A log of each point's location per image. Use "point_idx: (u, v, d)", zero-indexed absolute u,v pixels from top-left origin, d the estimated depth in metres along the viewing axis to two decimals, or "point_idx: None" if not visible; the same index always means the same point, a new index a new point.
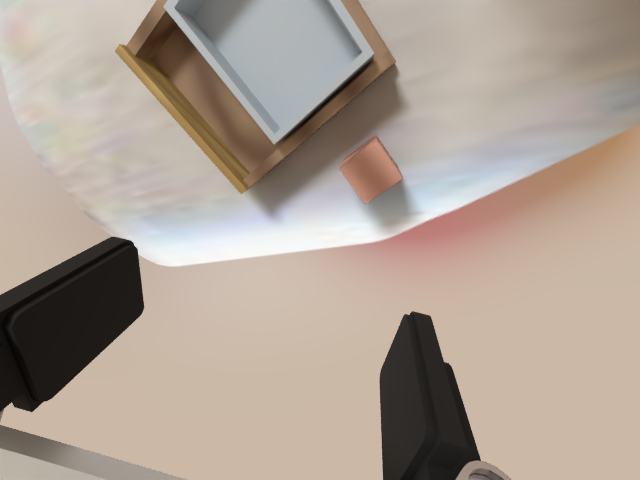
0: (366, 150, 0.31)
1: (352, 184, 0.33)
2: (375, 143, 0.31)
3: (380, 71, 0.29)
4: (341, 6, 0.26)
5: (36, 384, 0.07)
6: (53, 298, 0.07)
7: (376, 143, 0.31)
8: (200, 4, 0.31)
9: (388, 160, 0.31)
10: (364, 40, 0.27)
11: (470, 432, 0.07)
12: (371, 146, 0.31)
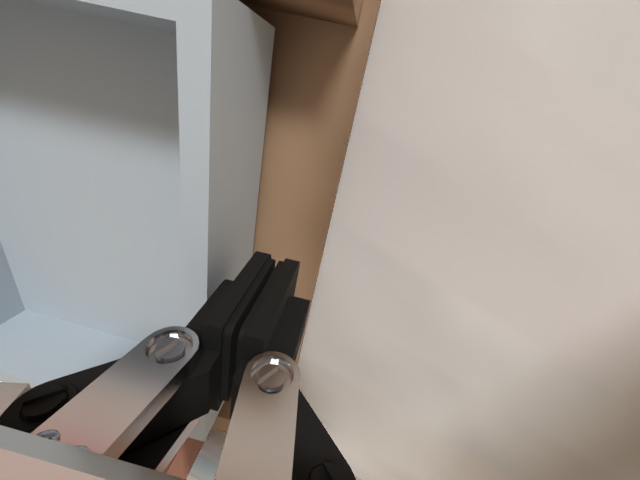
0: None
1: None
2: None
3: None
4: None
5: (227, 386, 0.08)
6: (245, 310, 0.08)
7: None
8: None
9: None
10: (202, 422, 0.13)
11: (295, 342, 0.08)
12: None
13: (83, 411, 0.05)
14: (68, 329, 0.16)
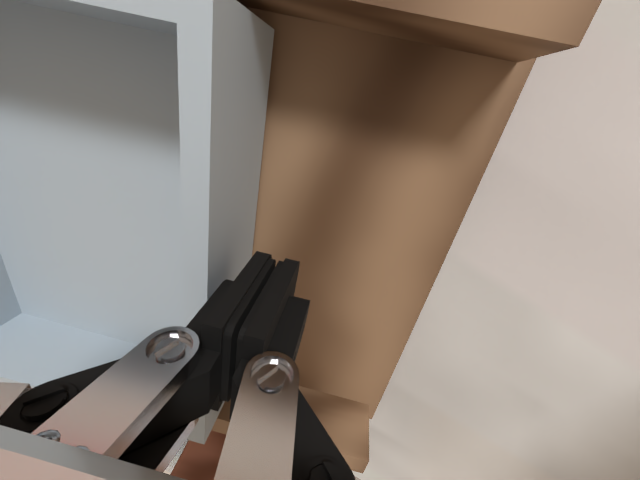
0: None
1: None
2: None
3: None
4: None
5: (227, 387, 0.08)
6: (245, 310, 0.08)
7: None
8: None
9: None
10: (201, 425, 0.13)
11: (295, 342, 0.08)
12: None
13: (84, 411, 0.05)
14: (66, 332, 0.16)
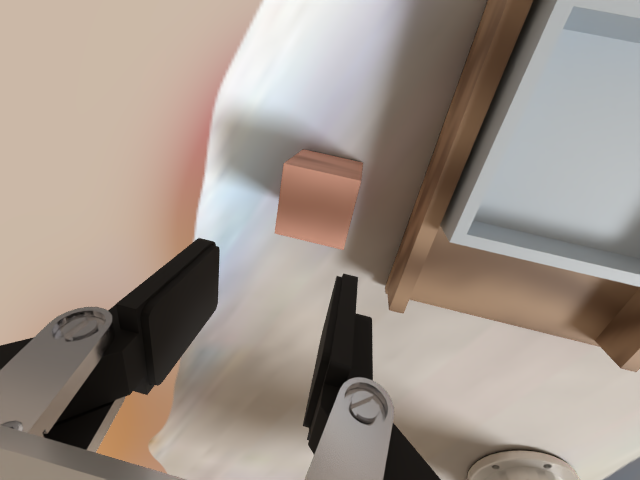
0: (345, 231, 0.20)
1: (325, 175, 0.18)
2: (342, 246, 0.20)
3: (396, 296, 0.23)
4: (526, 257, 0.19)
5: (154, 369, 0.08)
6: (171, 293, 0.08)
7: (341, 246, 0.20)
8: None
9: (310, 239, 0.20)
10: (472, 245, 0.19)
11: (370, 364, 0.08)
12: (344, 239, 0.20)
13: None
14: None
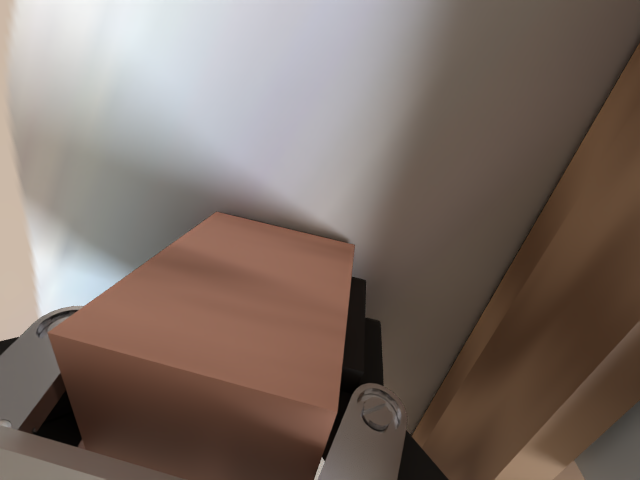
0: None
1: (202, 382, 0.05)
2: None
3: None
4: None
5: None
6: None
7: None
8: None
9: None
10: None
11: (381, 369, 0.08)
12: None
13: None
14: None
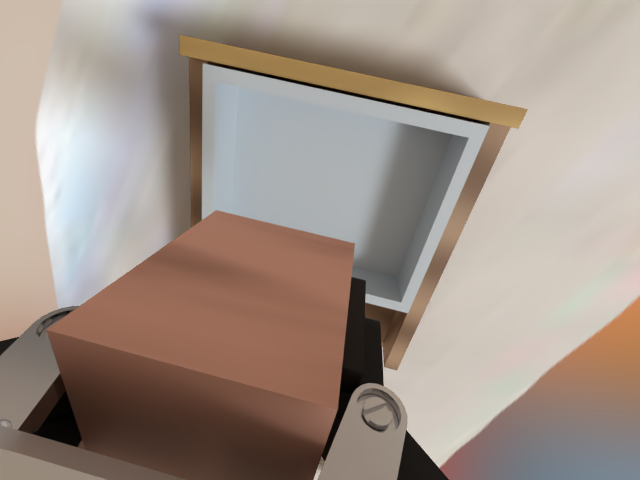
0: None
1: (202, 379, 0.05)
2: None
3: None
4: None
5: None
6: None
7: None
8: (444, 155, 0.20)
9: None
10: None
11: (381, 369, 0.08)
12: None
13: None
14: (233, 132, 0.21)
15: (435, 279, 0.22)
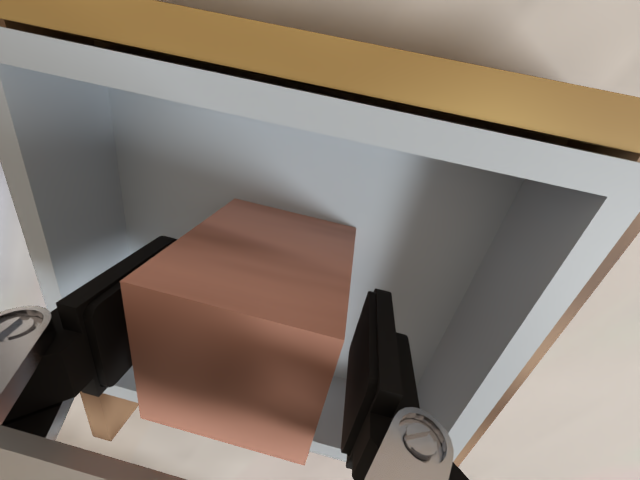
0: (308, 435, 0.08)
1: (240, 318, 0.06)
2: (301, 458, 0.08)
3: (90, 422, 0.17)
4: None
5: (104, 371, 0.08)
6: None
7: (298, 460, 0.08)
8: (510, 211, 0.10)
9: (223, 438, 0.08)
10: None
11: (415, 389, 0.07)
12: (304, 449, 0.08)
13: None
14: (108, 164, 0.11)
15: (482, 424, 0.12)
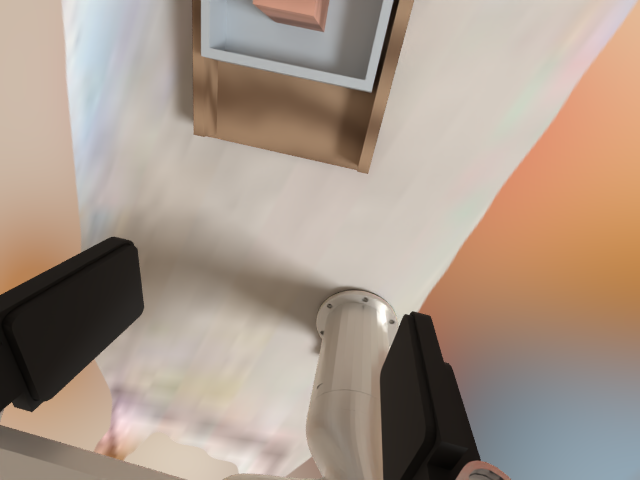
0: None
1: None
2: (312, 11, 0.23)
3: (194, 120, 0.32)
4: (250, 63, 0.27)
5: (36, 384, 0.07)
6: (53, 298, 0.07)
7: (311, 12, 0.23)
8: None
9: (284, 7, 0.23)
10: (215, 57, 0.27)
11: (470, 432, 0.07)
12: (313, 3, 0.22)
13: None
14: None
15: (393, 64, 0.27)
